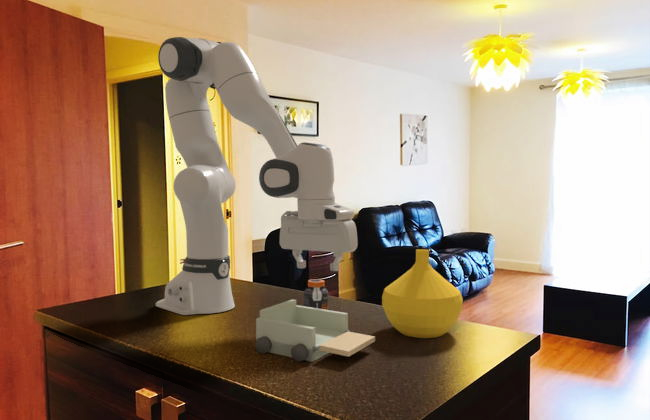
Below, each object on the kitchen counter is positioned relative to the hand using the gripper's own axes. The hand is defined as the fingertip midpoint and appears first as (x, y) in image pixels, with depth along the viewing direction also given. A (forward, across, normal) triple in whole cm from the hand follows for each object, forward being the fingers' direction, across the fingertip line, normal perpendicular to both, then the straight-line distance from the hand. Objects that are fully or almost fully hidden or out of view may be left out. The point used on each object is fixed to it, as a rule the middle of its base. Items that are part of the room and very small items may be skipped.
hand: (317, 269), depth 125 cm
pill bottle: (+14, -1, 0) cm, 14 cm away
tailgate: (+12, +12, -14) cm, 22 cm away
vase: (+15, +22, +9) cm, 28 cm away
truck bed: (+14, +5, -14) cm, 20 cm away
